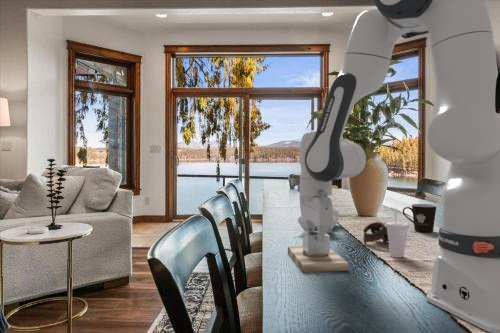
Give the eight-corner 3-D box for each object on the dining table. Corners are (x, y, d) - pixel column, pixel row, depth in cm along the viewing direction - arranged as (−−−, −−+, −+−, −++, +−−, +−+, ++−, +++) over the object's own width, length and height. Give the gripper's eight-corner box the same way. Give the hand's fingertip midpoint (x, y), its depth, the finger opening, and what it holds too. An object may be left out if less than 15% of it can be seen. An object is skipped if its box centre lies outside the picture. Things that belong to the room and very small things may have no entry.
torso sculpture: (301, 227, 160) (293, 235, 131) (302, 203, 160) (293, 205, 131) (338, 229, 156) (338, 237, 127) (339, 204, 157) (338, 206, 128)
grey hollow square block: (329, 253, 100) (329, 235, 100) (308, 254, 99) (308, 236, 99) (323, 248, 106) (323, 231, 106) (302, 248, 105) (302, 231, 105)
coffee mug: (441, 232, 139) (441, 206, 139) (424, 234, 136) (424, 207, 135) (417, 226, 150) (417, 202, 149) (400, 228, 147) (401, 203, 146)
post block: (348, 270, 94) (348, 239, 94) (302, 272, 93) (302, 241, 93) (326, 251, 112) (326, 226, 112) (287, 253, 111) (287, 227, 111)
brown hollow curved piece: (401, 249, 117) (391, 228, 115) (373, 260, 119) (363, 240, 117) (389, 231, 129) (380, 212, 127) (363, 242, 130) (354, 223, 128)
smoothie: (380, 254, 109) (381, 207, 109) (397, 252, 111) (398, 206, 111) (396, 260, 103) (396, 210, 103) (413, 258, 105) (414, 209, 105)
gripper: (339, 192, 92) (339, 246, 92) (316, 185, 112) (316, 230, 113) (315, 192, 91) (315, 247, 92) (296, 185, 112) (296, 230, 112)
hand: (315, 237), depth 102 cm, fingers open, 8 cm apart
